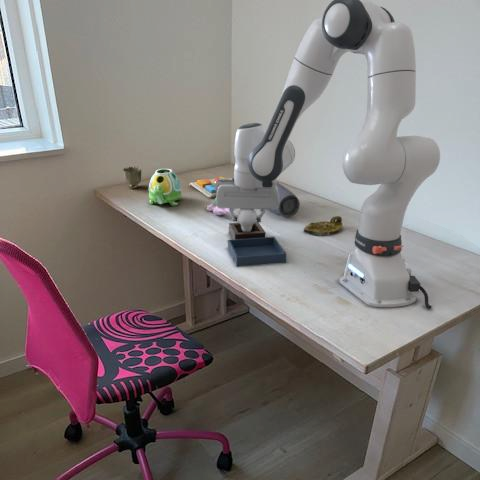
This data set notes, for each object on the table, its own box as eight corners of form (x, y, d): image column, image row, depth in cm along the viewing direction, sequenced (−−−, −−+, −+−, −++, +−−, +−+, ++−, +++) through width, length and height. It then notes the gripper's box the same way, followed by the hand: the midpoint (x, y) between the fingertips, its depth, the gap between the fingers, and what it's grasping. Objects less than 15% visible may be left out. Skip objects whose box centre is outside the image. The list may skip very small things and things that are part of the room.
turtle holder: (141, 210, 188) (139, 178, 181) (155, 195, 203) (152, 165, 196) (174, 212, 186) (172, 180, 180) (185, 197, 202) (184, 167, 195)
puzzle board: (211, 199, 200) (211, 190, 198) (188, 186, 213) (187, 178, 211) (247, 192, 208) (247, 184, 206) (223, 180, 221) (223, 172, 219)
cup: (124, 185, 212) (121, 166, 208) (141, 184, 214) (139, 165, 210) (126, 191, 206) (124, 171, 202) (144, 189, 208) (142, 170, 204)
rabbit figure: (201, 213, 190) (221, 219, 178) (200, 197, 187) (220, 202, 176) (216, 210, 193) (236, 216, 181) (215, 195, 190) (235, 200, 178)
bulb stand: (265, 244, 164) (265, 232, 161) (234, 246, 162) (235, 234, 159) (257, 232, 172) (257, 221, 170) (228, 234, 170) (228, 223, 168)
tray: (285, 262, 152) (286, 253, 150) (236, 266, 149) (236, 257, 147) (273, 245, 163) (274, 236, 161) (227, 248, 160) (227, 239, 158)
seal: (311, 241, 169) (348, 233, 174) (313, 228, 166) (351, 221, 171) (297, 228, 175) (333, 221, 181) (299, 216, 172) (336, 209, 178)
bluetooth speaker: (300, 219, 183) (302, 192, 178) (276, 222, 180) (278, 194, 175) (273, 199, 201) (275, 174, 196) (252, 202, 198) (253, 176, 193)
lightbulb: (259, 238, 168) (260, 206, 162) (249, 244, 163) (250, 211, 157) (243, 233, 170) (244, 202, 165) (233, 240, 166) (233, 207, 160)
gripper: (213, 180, 154) (214, 223, 161) (281, 182, 153) (278, 225, 161) (215, 174, 159) (215, 216, 166) (280, 176, 159) (277, 218, 166)
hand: (247, 221), depth 163 cm, fingers closed on lightbulb, 6 cm apart
